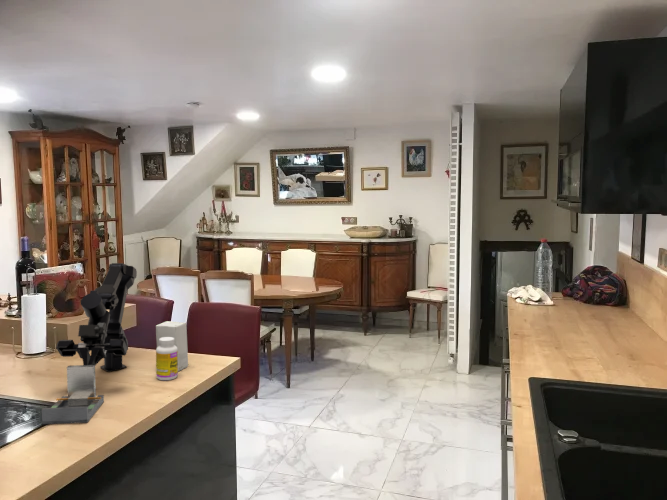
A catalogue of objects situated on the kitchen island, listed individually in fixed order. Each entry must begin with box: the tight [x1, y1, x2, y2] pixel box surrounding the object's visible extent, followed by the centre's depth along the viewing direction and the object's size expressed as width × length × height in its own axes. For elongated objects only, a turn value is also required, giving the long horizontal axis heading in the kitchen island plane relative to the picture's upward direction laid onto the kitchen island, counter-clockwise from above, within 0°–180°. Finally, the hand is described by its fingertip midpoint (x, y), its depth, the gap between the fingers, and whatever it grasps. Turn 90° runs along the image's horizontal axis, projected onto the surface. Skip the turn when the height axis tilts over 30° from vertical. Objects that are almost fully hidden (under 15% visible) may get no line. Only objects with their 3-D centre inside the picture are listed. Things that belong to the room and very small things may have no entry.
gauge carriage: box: [55, 364, 101, 406], centre depth 146 cm, size 4×12×10 cm, turn 97°
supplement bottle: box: [155, 337, 179, 381], centre depth 170 cm, size 7×7×13 cm
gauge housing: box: [41, 394, 105, 425], centre depth 142 cm, size 14×11×4 cm
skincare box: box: [155, 320, 189, 372], centre depth 179 cm, size 8×7×16 cm
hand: (86, 373), depth 152 cm, fingers closed
